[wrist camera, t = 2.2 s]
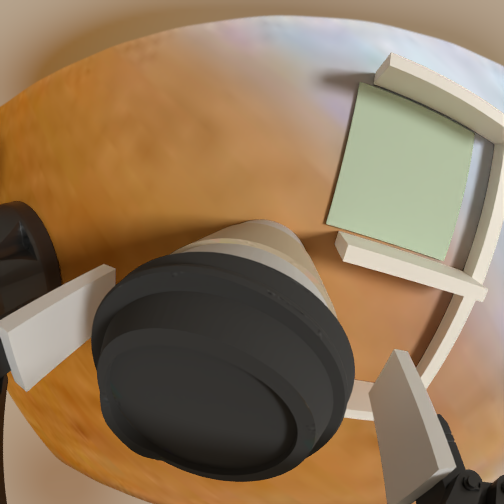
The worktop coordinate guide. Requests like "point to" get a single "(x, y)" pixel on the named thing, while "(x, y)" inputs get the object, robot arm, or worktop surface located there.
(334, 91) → the worktop surface
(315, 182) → the worktop surface
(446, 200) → the pad
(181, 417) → the coffee cup
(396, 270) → the e-shaped divided frame
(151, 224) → the worktop surface
